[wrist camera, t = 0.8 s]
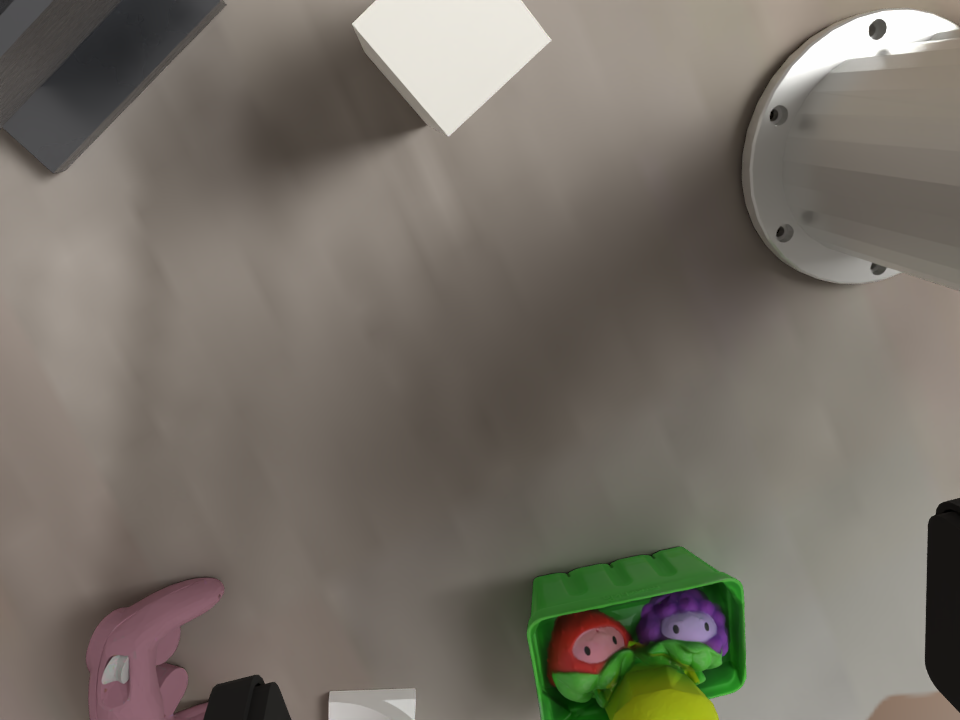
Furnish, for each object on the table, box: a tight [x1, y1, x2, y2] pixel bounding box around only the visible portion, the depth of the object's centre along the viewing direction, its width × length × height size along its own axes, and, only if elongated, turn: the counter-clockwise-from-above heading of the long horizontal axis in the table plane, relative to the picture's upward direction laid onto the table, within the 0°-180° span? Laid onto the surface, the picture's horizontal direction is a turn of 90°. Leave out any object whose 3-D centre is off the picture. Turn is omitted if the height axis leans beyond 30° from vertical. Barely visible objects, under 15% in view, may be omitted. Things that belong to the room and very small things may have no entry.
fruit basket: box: [527, 547, 746, 720], centre depth 38 cm, size 11×9×11 cm
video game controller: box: [86, 578, 224, 720], centre depth 38 cm, size 10×5×7 cm, turn 179°
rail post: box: [352, 0, 551, 137], centre depth 26 cm, size 4×4×12 cm
